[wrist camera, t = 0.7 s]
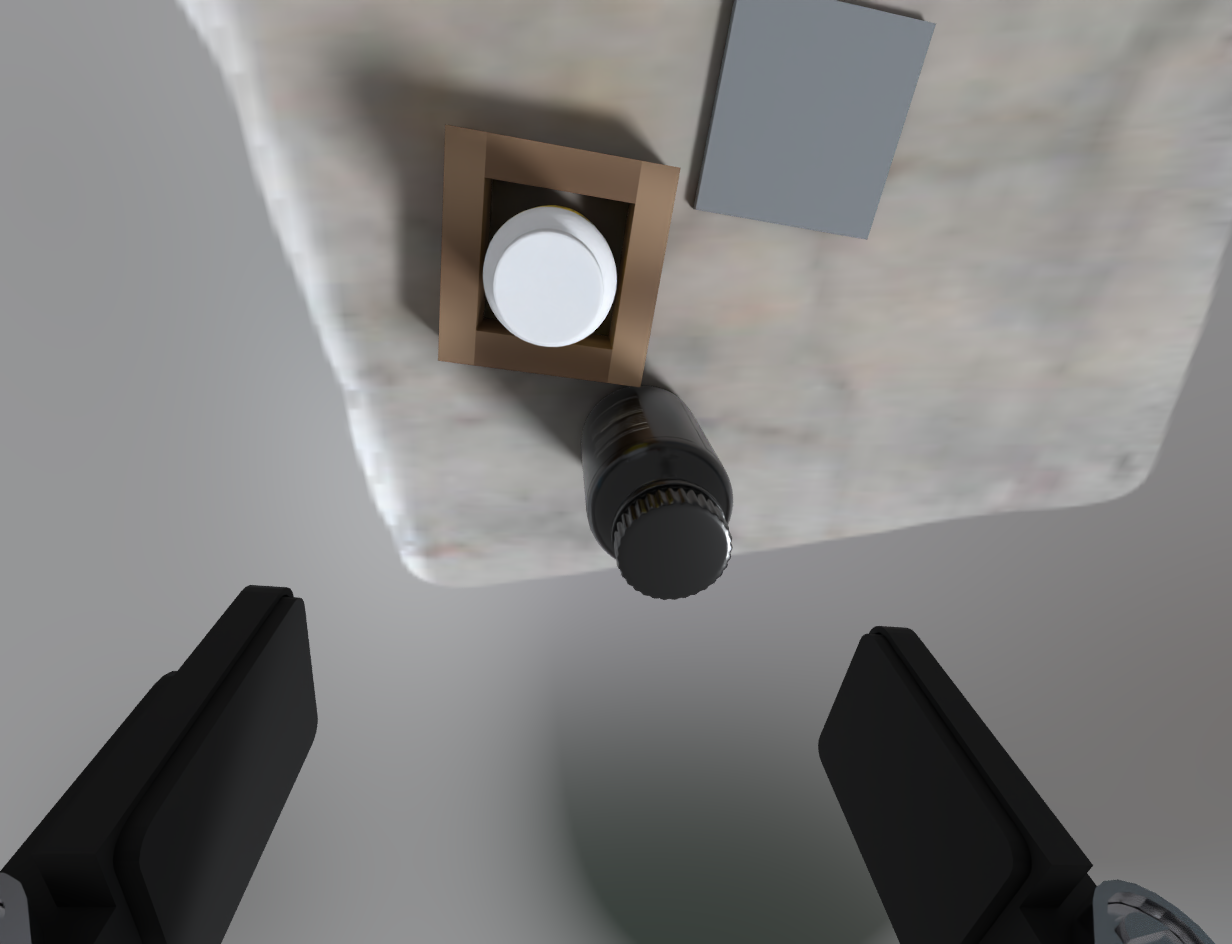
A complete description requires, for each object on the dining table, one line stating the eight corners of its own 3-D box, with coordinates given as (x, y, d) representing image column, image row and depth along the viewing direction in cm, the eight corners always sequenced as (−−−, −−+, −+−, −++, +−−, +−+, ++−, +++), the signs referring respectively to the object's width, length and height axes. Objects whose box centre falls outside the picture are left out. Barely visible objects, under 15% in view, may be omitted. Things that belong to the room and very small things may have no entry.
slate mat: (737, -18, 25) (741, -22, 25) (928, 27, 26) (935, 23, 26) (693, 208, 29) (695, 209, 28) (861, 238, 30) (867, 239, 30)
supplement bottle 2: (582, 491, 35) (588, 624, 25) (579, 383, 32) (584, 479, 22) (693, 488, 36) (748, 616, 25) (701, 380, 33) (766, 473, 22)
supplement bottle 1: (627, 240, 29) (652, 262, 21) (576, 334, 31) (579, 392, 22) (529, 180, 28) (512, 176, 19) (482, 283, 30) (446, 323, 21)
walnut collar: (457, 130, 27) (445, 124, 24) (669, 169, 28) (680, 167, 25) (449, 345, 31) (438, 360, 28) (634, 370, 32) (640, 387, 30)
